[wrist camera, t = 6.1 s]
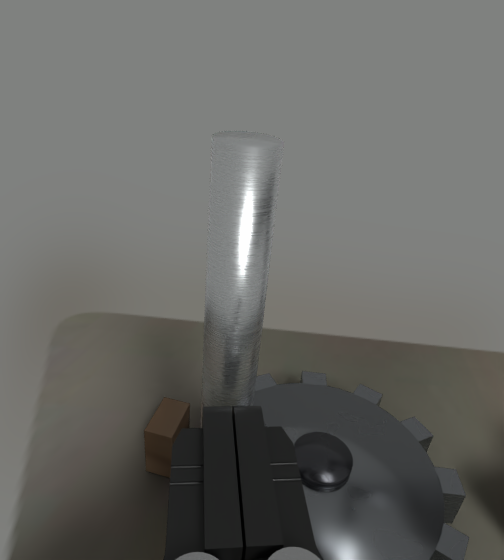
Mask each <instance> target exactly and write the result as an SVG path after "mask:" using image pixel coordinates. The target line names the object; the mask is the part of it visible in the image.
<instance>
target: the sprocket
mask: <svg viewBox="0 0 504 560" xmlns="http://www.w3.org/2000/svg"><path fill="white" fill-rule="evenodd" d="M283 145H284V142H283V140H281V139H280V138H277V137H275V136H271V135H267V134H262V133H256V132H247V131H224V132H218V133H215V134H213V135H212V144H211V169H210V195H209V196H210V198H209V220H208V245H207V270H206V271H207V272H206V296H205V321H204V346H203V371H202V397H201V422H200V428H202V413H203V406H231V410H232V407H233V406H261V408H262V413H263V419H264V425H265V427H276V426H281V427H282V428H283V429H284V431H285V432H286V434H287V435H288V436H289V438H290V439H291V441H292V442H293V445H294V449H295V454H296V458H297V465H298V467H299V472H300V476H301V481H302V485H303V490H304V494H305V499H306V504H307V508H308V513H309V517H310V522H311V526H312V531H313V535H314V540H315V543H316V546H317V549H318V551H319V553H320V555H321V556H322V558H323V559H324V560H464V556H465V552H466V548H467V544H468V540H469V537H468V536H466V535H464V534H463V533H461V532H459V531H457V530H456V529H454V528H452V527H451V526H449V525H447V524H445V523H452V522H453V520H454V518H455V516H456V514H457V512H458V510H459V508H460V506H461V504H462V502H463V500H464V498H465V496H466V495H465V492H464V490H463V487H462V484H461V482H460V479H459V476H458V474H457V471H456V469H448V468H440V467H434V465H433V463H432V462H431V460H430V458H429V456H428V454H427V450H428V448H429V445H430V443H431V440H432V438H433V435H432V434H431V433H430V432H429V431H428V430H427V429H426V428H425V427H424V426H423V425H422V424H421V423H420V422H419V421H418V420H417V419H416V418H415V417H412V418H409V419H406V420H404V421H401V422H399V421H398V420H397V419H396V418H394V417H393V416H392V415H391V414H389V413H388V412H386V411H385V410H383V409H382V408H380V407H379V405H380V402H381V399H382V395H383V394H380V393H378V392H376V391H374V390H372V389H370V388H368V387H366V386H364V385H361V384H359V386H358V387H357V389H356V390H355V391H354V393H350V392H347V391H344V390H341V389H338V388H334V387H330V386H327V383H326V374H323V373H314V372H305V371H302V375H301V381H300V383H288V384H279V385H277V384H276V382H275V381H274V380H273V378H272V377H271V376H270V374H269V373H268V374H264V375H261V376H257V368H258V359H259V351H260V342H261V334H262V324H263V317H264V308H265V299H266V291H267V282H268V274H269V265H270V257H271V248H272V240H273V231H274V223H275V214H276V205H277V197H278V188H279V179H280V171H281V163H282V154H283ZM256 376H257V377H256Z"/></svg>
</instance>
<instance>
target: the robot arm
mask: <svg viewBox="0 0 504 560" xmlns="http://www.w3.org/2000/svg"><path fill="white" fill-rule="evenodd" d="M163 560H324V559H323V558H322V556H321V555H320V553H319V551H318V549H317V546H316V543H315V540H314V535H313V531H312V526H311V522H310V517H309V513H308V508H307V504H306V499H305V494H304V490H303V485H302V481H301V476H300V472H299V467H298V465H297V458H296V454H295V449H294V445H293V442H292V441H291V439H290V438H289V436H288V435H287V434H286V432H285V431H284V429H283V428H282V427H281V426H276V427H265V425H264V419H263V413H262V408H261V406H233V407H232V410H231V406H203V413H202V428H182V429H181V431H180V433H179V434H178V436H177V438H176V440H175V442H174V443H173V445H172V457H171V473H170V489H169V504H168V520H167V536H166V550H165V556H164V559H163Z"/></svg>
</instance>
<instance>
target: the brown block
mask: <svg viewBox="0 0 504 560" xmlns="http://www.w3.org/2000/svg"><path fill="white" fill-rule="evenodd" d="M189 415H190V403H186V402H182V401H178V400H174V399H170V398H166V397H164V399H163V400H162V402H161V404H160V405H159V407H158V409H157V410H156V412H155V413H154V415H153V417H152V418H151V420H150V422H149V423H148V425H147V427H146V428H145V430H144V437H145V458H146V471H148V472H151V473H155V474H158V475H162V476H165V477H169V478H170V473H171V457H172V445H173V443H174V442H175V440H176V438H177V436H178V434H179V433H180V431H181V429H182V428H189Z"/></svg>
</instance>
